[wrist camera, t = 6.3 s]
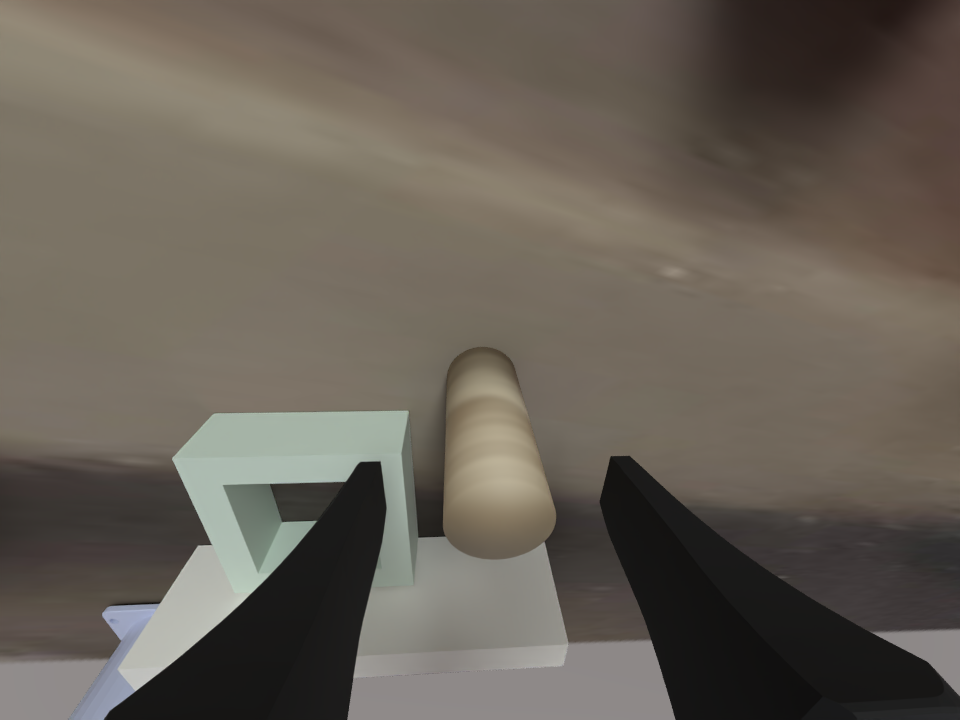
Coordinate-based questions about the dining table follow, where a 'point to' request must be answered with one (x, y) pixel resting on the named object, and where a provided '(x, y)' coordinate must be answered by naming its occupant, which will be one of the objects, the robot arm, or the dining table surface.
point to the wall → (392, 616)
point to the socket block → (295, 459)
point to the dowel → (492, 462)
